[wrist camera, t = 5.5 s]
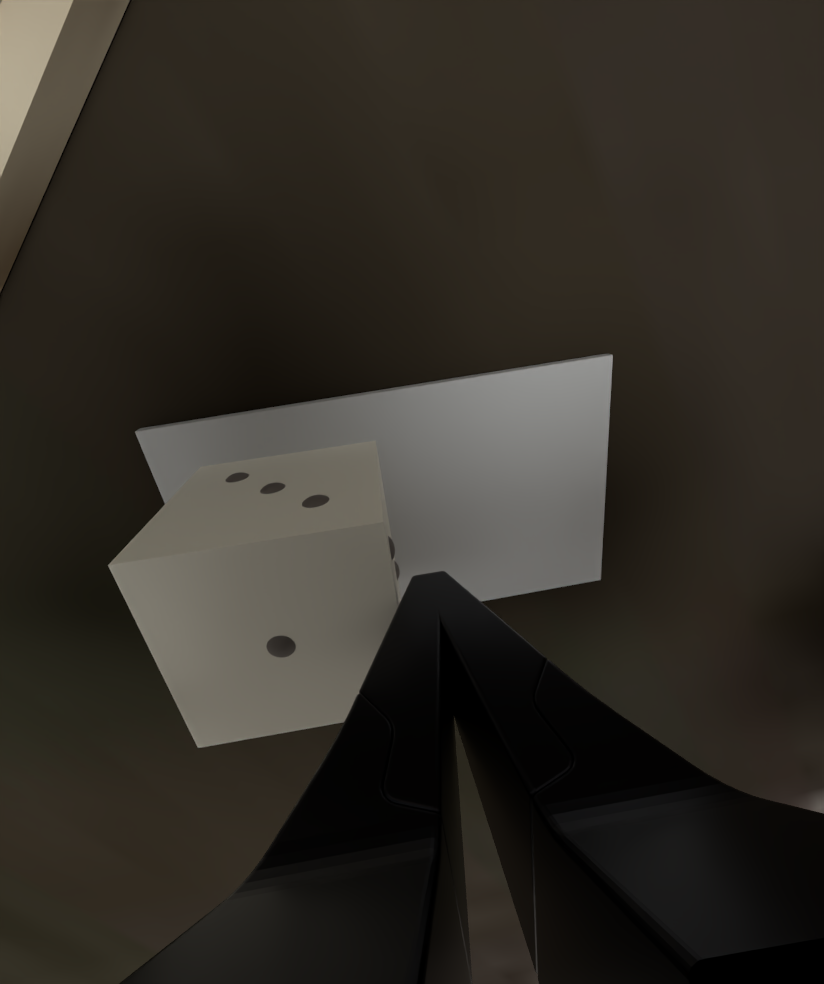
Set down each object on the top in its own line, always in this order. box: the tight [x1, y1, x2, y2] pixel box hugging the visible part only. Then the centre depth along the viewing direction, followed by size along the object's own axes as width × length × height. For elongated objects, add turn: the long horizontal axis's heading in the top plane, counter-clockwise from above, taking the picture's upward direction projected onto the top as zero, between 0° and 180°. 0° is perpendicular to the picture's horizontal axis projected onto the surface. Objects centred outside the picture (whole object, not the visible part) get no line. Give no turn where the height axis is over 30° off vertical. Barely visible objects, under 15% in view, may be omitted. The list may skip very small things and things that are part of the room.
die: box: [108, 441, 401, 748], centre depth 10 cm, size 5×5×5 cm
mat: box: [135, 354, 613, 601], centre depth 12 cm, size 12×7×1 cm, turn 98°
